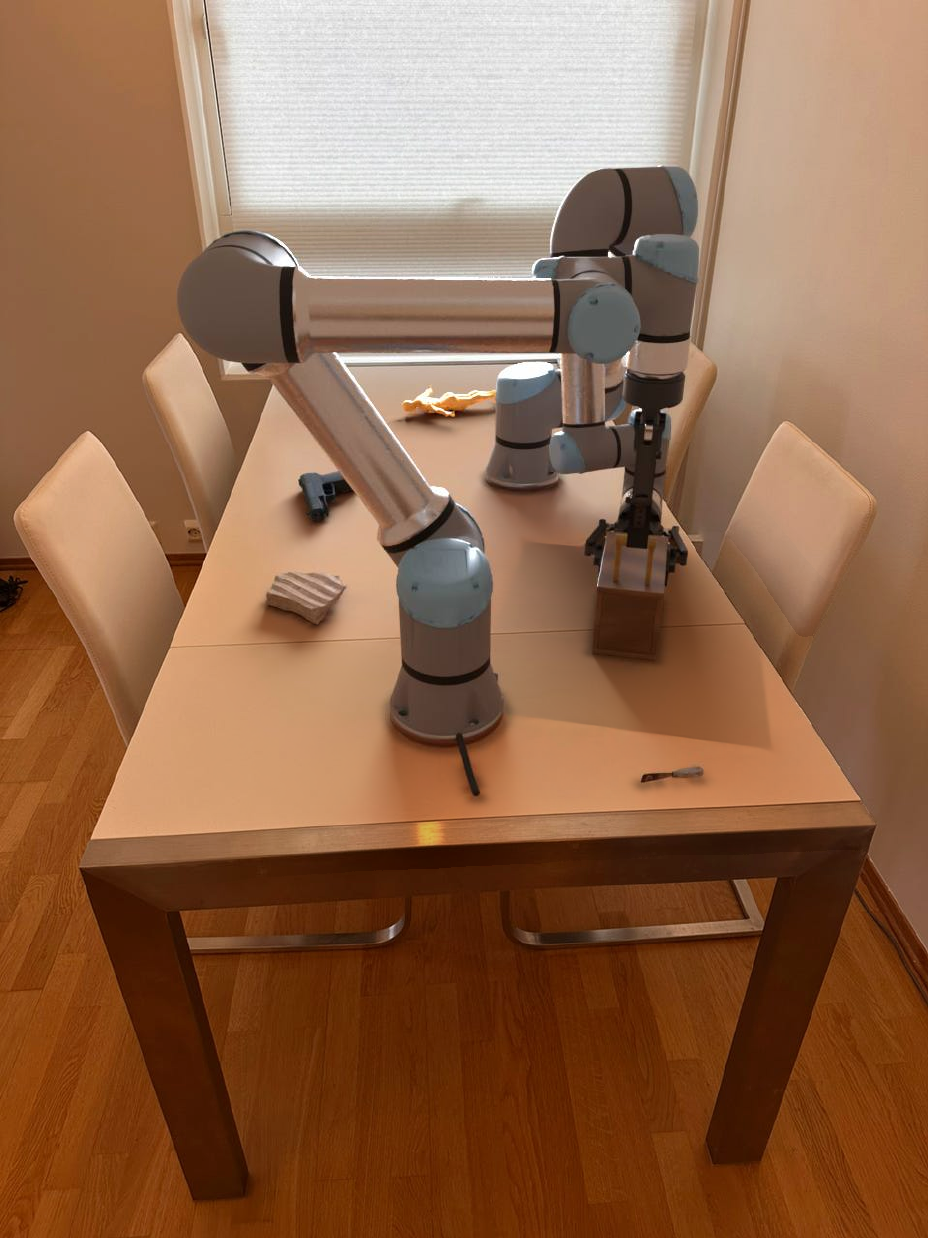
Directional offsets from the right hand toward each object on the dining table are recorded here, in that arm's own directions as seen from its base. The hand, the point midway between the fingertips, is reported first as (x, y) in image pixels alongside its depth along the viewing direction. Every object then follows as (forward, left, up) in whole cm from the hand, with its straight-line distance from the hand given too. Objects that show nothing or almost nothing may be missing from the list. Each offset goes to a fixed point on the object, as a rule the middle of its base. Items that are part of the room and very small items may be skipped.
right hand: (632, 575), depth 140 cm
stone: (-13, -51, -6) cm, 53 cm away
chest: (+5, -2, -6) cm, 8 cm away
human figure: (-101, -8, -6) cm, 102 cm away
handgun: (-53, -43, -6) cm, 68 cm away
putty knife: (+39, -10, -6) cm, 41 cm away
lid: (+5, -2, +5) cm, 7 cm away
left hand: (+11, -5, +15) cm, 19 cm away
